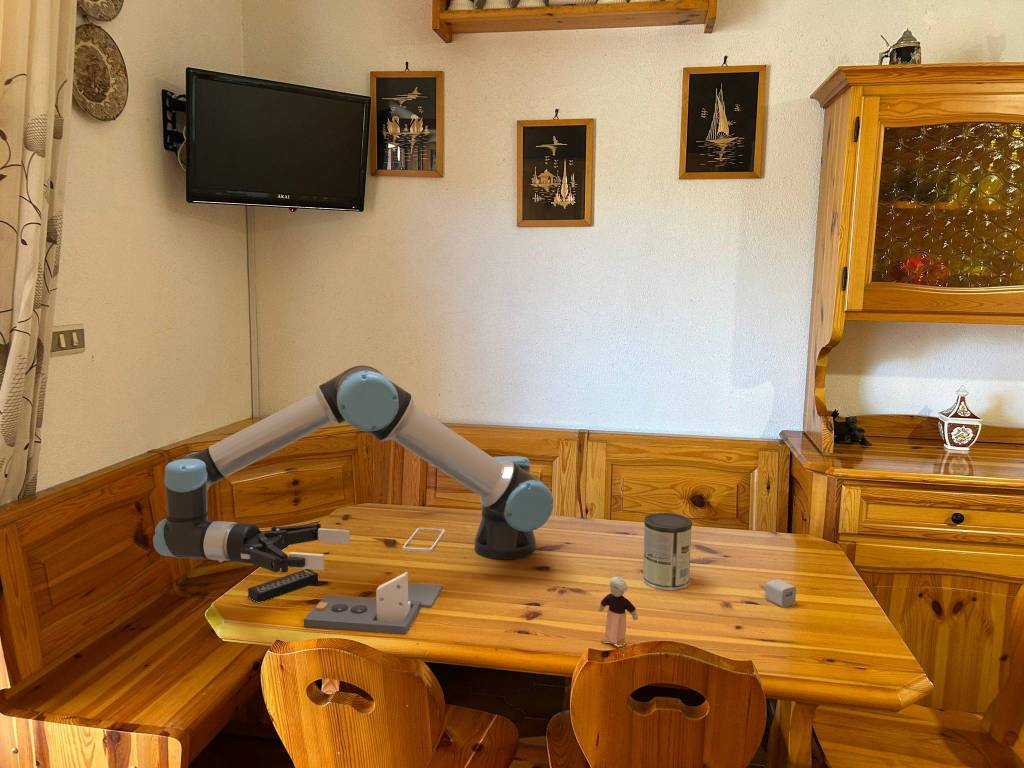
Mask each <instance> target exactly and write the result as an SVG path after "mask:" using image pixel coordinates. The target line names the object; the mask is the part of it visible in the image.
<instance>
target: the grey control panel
mask: <svg viewBox="0 0 1024 768" xmlns="http://www.w3.org/2000/svg"><path fill="white" fill-rule="evenodd" d="M408 601H409V600H408ZM421 610H422V607H421V601H410V612H409V613H408V615H407V617H406V618H405V620H404V622H403V623H401V622H387V621H377V602H376V597H364V596H351V595H350V596H348V595H347V596H346V595H333V594H325V595H324V596H323V597H322V599H321V600H320V601H319V602H318V603H317V604H316V605H315V606H314V607H313V609H311V611H310V612H308V614H307V615H306V616H305V617H304V618H303V627H306V628H314V629H315V628H316V629H317V628H318V629H331V630H341V631H342V630H343V631H344V630H345V631H346V630H347V631H357V632H358V631H360V632H368V633H369V632H370V633H371V632H372V633H382V632H383V633H384V634H385V633H386V634H395V633H396V634H397V633H398V635H407V633H408V632H409V629H410V628H411V626H412V625H411V624H413V622H414V621H415V620H414V619H416V617H417V616H418V614H419V612H420V611H421ZM407 631H408V632H407Z"/></svg>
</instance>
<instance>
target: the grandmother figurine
mask: <svg viewBox="0 0 1024 768" xmlns="http://www.w3.org/2000/svg"><path fill="white" fill-rule="evenodd" d="M609 586H610V589H609V590H610V593H608V594H606V596H605V597H603V599H602V600H600V604H599V606H598V608H597V611H598V612H600V613H603V612H604V609H605V608H606V607H608V608H607V611H606V622H605V634H604V635H605V636H603V637H602V638H601V639H600V642H601V641H603V642H611V643H610V644H613V645H614V644H617V645H622V646H619V647H622V648H624V647H625V646H626V643H625V642H626V640H625V639H626V632H627V613H626V611H627V612H628V613H629V614H630V615H631V617H632V618H631V619H632V620H633V621H637V620H638V619H639V616H638V614H637V611H636V610H637V608H636V606H635V605H634V604H633V603H632V602H631V601H630V600H629V599H628V598H627V597H625V596H624V594H625V592H627V591H628V589H630V588H629V586H628V584H627V582H626V581H625V580H624V579H623V578H622V577H621V576H613V577H611V578H610V580H609ZM624 643H625V645H624ZM623 646H624V647H623ZM619 647H618V648H619Z"/></svg>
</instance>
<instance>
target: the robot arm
mask: <svg viewBox="0 0 1024 768" xmlns="http://www.w3.org/2000/svg"><path fill="white" fill-rule="evenodd" d="M345 421H346V423H348V424H349V426H351V427H353V428H354V429H356V430H360V431H363V432H366V433H368V434H369V435H370V436H373V437H374V438H375V439H377V440H379V441H380V442H385V441H389V440H392V441H394V442H396V443H397V444H398V445H400V446H402V447H403V448H405V449H406V450H408V451H409V452H411V453H413V454H415V455H416V456H417V457H419V458H421V459H422V460H424V461H425V462H427V463H429V465H431V466H433V467H434V468H436V469H437V470H440V471H441V472H442V473H444V474H445V475H447V476H448V477H450V478H452V479H454V480H455V481H457V482H458V483H460V484H461V485H463V486H465V488H467V489H469V490H470V491H472V492H473V493H476V495H478V496H479V499H480V504H481V520H480V522H479V525H478V529H477V532H476V535H475V537H474V551H475V552H476V554H479V555H480V556H483V557H486V558H489V559H496V560H514V559H515V560H516V559H521V558H522V559H523V558H525V557H528V556H530V555H533V553H534V552H535V551H536V547H537V546H536V545H537V543H536V536H535V534H534V531H535V530H538V529H540V528H541V527H542V526H544V525H545V524H546V523H547V522H548V520H549V519H550V517H551V515H552V513H553V510H554V497H553V494H552V492H551V489H549V487H548V485H546V483H544V482H543V481H541V480H540V479H538V478H537V477H536V476H534V475H533V474H532V473H530V470H531V464H530V459H529V458H528V457H525V456H519V455H513V456H512V455H508V456H507V455H506V456H505V455H504V456H503V455H502V456H494V457H493V456H491V455H489V454H488V453H487V452H486V451H484V450H483V449H481V448H479V447H478V446H476V445H474V444H473V443H472V442H470V441H468V440H467V439H465V438H464V437H462V436H461V435H460V434H458V433H457V432H455V431H454V430H452V429H451V428H449V427H448V426H446V425H444V424H443V423H442V422H440V421H438V420H437V419H436V418H434V417H433V416H431V415H430V414H428V413H426V412H425V411H424V410H422V409H420V408H419V407H417V406H416V405H415V402H414V398H413V395H412V394H411V393H409V392H408V391H406V390H405V389H403V388H402V387H400V386H399V385H398V384H396V383H394V382H393V381H391V380H390V379H389V378H387V377H386V376H385V375H384V374H382V372H381V371H379V370H378V369H376V368H375V367H372V366H369V365H355V366H352V367H349V368H347V369H346V370H344V371H342V372H341V373H339V374H338V375H336V376H335V377H332V378H331V379H329V380H327V381H326V382H324V383H322V384H320V385H318V386H317V387H316V390H315V392H314V393H312V394H310V395H309V396H306V397H304V398H302V399H301V400H299V401H297V402H294V403H293V404H291V405H288V406H287V407H285V408H282V409H280V410H278V411H277V412H275V413H273V414H271V415H269V416H267V417H265V418H263V419H262V420H261V419H260V421H259V420H258V421H257V422H256V423H253V424H251V425H249V426H248V427H244V428H243V429H241V430H240V431H238V432H235V433H234V434H232V435H230V436H229V435H228V436H227V437H226V438H223V439H222V440H220V441H218V442H216V443H213V444H212V445H210V446H208V447H206V448H204V449H202V450H200V451H196V452H191V453H189V454H187V455H186V456H184V457H182V459H175V460H173V461H171V462H168V463H167V464H166V465H165V468H164V480H163V482H164V485H165V486H164V487H165V504H166V518H163V519H162V520H160V521H159V522H158V524H157V525H156V527H155V529H154V535H153V538H152V542H153V543H152V544H153V547H154V549H155V551H156V552H157V553H158V554H159V555H160V556H166V557H173V558H177V559H197V560H198V559H200V560H212V561H218V562H219V563H223V562H224V561H227V562H228V561H229V562H230V561H232V562H236V563H244V564H252V565H254V566H256V567H259V568H262V569H264V570H267V571H271V572H273V573H279V572H280V571H281V573H282V574H283V573H285V574H286V573H287V572H289V568H292V569H302V570H305V569H309V570H319V571H323V570H325V554H322V553H321V554H320V553H311V552H310V553H308V552H307V553H306V552H296V551H295V552H294V551H291V552H289V553H288V554H287V552H285V551H282V550H283V549H287V548H288V547H289V546H292V545H298V544H302V543H303V544H304V543H310V542H314V541H317V542H318V543H324V544H338V545H339V544H341V545H350V544H351V530H350V529H349V530H348V529H336V528H335V529H334V528H322V525H321V523H319V522H318V523H315V524H314V523H313V524H303V525H291V526H290V525H289V526H272V527H271V528H270V530H269V531H267V530H266V531H264V532H262V531H261V529H259V527H258V525H257V524H255V523H249V522H235V521H221V520H219V521H218V520H209V516H208V515H209V510H208V502H209V501H208V491H209V489H210V487H211V486H212V485H214V484H216V483H218V482H220V481H222V480H224V479H226V478H227V477H229V476H230V475H233V474H234V473H236V472H239V471H240V470H242V469H245V468H246V467H248V466H250V465H253V464H254V463H256V462H258V461H260V460H262V459H264V458H265V457H267V456H270V455H271V454H273V453H275V452H277V451H280V450H282V449H284V448H285V447H288V446H289V445H291V444H293V443H295V442H296V441H298V440H301V439H303V438H304V437H307V436H309V435H310V434H312V433H314V432H316V431H318V430H320V429H323V428H325V427H326V426H327V425H330V424H334V425H340V424H341V423H343V422H345Z"/></svg>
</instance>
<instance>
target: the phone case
mask: <svg viewBox="0 0 1024 768" xmlns="http://www.w3.org/2000/svg"><path fill="white" fill-rule="evenodd" d="M419 530H423V531H424V530H431V531H433V530H434V531H439V532H440V531H442V532H440V534H439V536H438V537H437V539H436V540H435V542H434V544H433V545H432V546H431V547H430V548H424V547H423V548H422V547H407V545H408V544H409V543H411V542H412V541H413V539H414V538H415V537H416V535H417V534H418V533H419V532H420V531H419ZM445 530H446V529H444V528H432V527H418V528H416V530H415V531H414V532H413V534H412V535H411V536H410V537H409V538H408V540H407V541H406V542H405V544H404V545H403V546H402V551H403V550H405V551H404V552H410V551H422V552H421V553H427V552H430V553H432V552H433V551H434V550H433V549H435V548H436V547H437V545H438V544H439V542H440V541H441V539H442V538H443V536H444V535H443V534H445V532H446V531H445ZM418 531H419V532H418ZM417 532H418V533H417ZM416 533H417V534H416ZM415 534H416V535H415ZM442 535H443V536H442ZM414 536H415V537H414ZM413 537H414V538H413ZM441 537H442V538H441ZM412 538H413V539H412ZM439 540H440V541H439ZM410 541H411V542H410ZM437 543H438V544H437ZM436 544H437V545H436ZM435 546H436V547H435ZM434 547H435V548H434ZM431 551H432V552H431Z"/></svg>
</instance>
